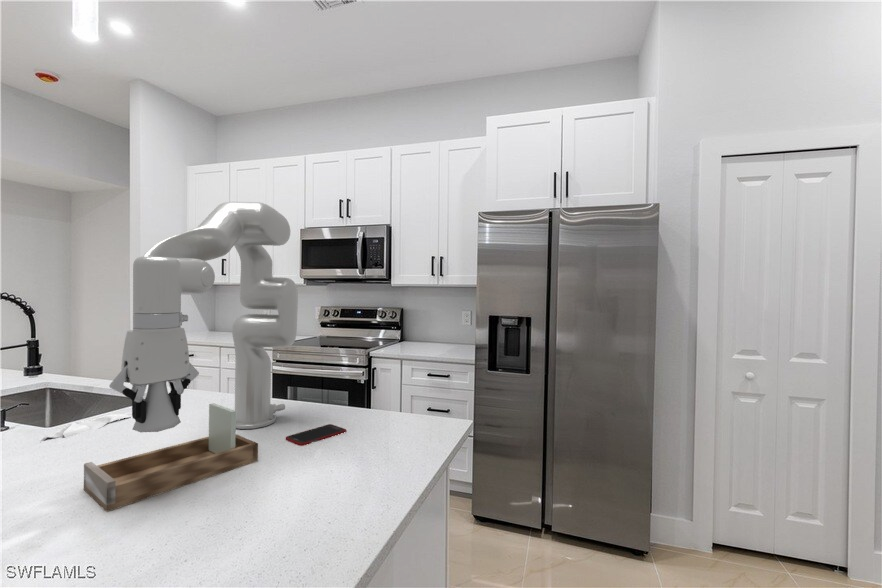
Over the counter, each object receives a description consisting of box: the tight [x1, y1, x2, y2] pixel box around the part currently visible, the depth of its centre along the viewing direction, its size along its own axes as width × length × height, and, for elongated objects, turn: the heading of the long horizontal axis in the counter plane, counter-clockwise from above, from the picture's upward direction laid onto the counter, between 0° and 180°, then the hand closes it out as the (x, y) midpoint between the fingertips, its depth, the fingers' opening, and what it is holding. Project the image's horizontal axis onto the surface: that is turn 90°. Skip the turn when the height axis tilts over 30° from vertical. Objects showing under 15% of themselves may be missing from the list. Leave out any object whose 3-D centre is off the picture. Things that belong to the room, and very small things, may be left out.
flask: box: [132, 382, 182, 433], centre depth 80 cm, size 7×7×10 cm
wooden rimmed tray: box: [83, 433, 259, 512], centre depth 88 cm, size 28×13×5 cm, turn 144°
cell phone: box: [285, 423, 347, 447], centre depth 113 cm, size 8×15×1 cm, turn 141°
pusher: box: [208, 402, 237, 454], centre depth 96 cm, size 1×10×11 cm, turn 54°
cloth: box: [39, 412, 132, 443], centre depth 118 cm, size 26×14×2 cm, turn 156°
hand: (157, 416), depth 80 cm, fingers closed on flask, 4 cm apart
